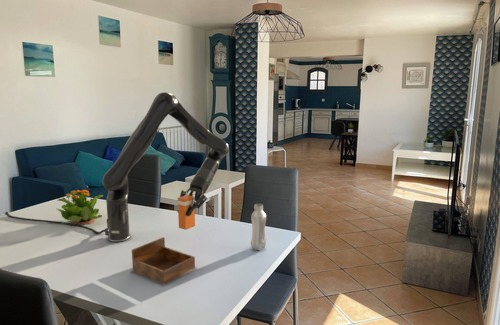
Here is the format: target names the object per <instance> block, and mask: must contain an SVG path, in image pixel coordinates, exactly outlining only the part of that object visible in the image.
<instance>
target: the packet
mask: <svg viewBox="0 0 500 325" xmlns="http://www.w3.org/2000/svg"><path fill="white" fill-rule="evenodd" d="M193 197H194V196H190V195H186V196H182V197H180V196H179V197H177V211H178V212H177V213H178V214H177V215H178V229H182V230H185V231H186V230H190V229H191V228H194V227H196V213H195V212H196V208H195V209H194V210H193V212H192V214H191V215H190V216H187V215H186V214H185V213H186V211H187V210H188V208H189V206H190V205H191V202H192V199H193Z"/></svg>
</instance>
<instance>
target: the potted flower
mask: <svg viewBox="0 0 500 325" xmlns="http://www.w3.org/2000/svg"><path fill="white" fill-rule="evenodd" d="M65 196H66V197H61V198H58V199H57V201H58V202H63V203H65V204H62V205H61V206H60V207H61V209H60V208H58V207H56V210H57V211H58V212H60V214H61V217H62V218H63V219H64V220H66V221H70V222H73V224H78V225H82V226H84V225H87V224H88V225H89V224H91V223H93V222H94V221H95V219H99V218H102V217H103V214H99V211H100V208H96V207H95V206H96V204H97V203H98V199H99V198H102V197H104V195H103V194H99V195H95V196H94V197H93V198H92V197H91V198H90V191H89V190H87V189H82V190H79V189H76V190H71V191H70V193H66V194H65ZM70 198H71V199H70ZM88 198H90V199H88Z"/></svg>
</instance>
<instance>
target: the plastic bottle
mask: <svg viewBox="0 0 500 325" xmlns="http://www.w3.org/2000/svg"><path fill="white" fill-rule="evenodd" d="M253 209H254V211H252V213H251V216H250V219H251V229H252V231H251V232H252V233H251V239H250V247H251V248H252V250H255V251H261V250H264V249H266V246H267V240H266V222H267V214H266V212H265V211H264V204H262V203H255V204H254V206H253Z"/></svg>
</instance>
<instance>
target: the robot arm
mask: <svg viewBox="0 0 500 325" xmlns="http://www.w3.org/2000/svg"><path fill="white" fill-rule="evenodd" d="M168 116H170V117H171V118H173V119H174V120H175V121H176V122H178V123H179V124H180V125H181V126H182V127H183V128H184V130H185V131H186V132H187V133H188V134H189V136H191V137H192V138H193V139H194V140H195V141H196V142H198V143H199V144H200V145H201V146H207V147H209V148H210V149H209V150H208V153H207V154H206V157H205V159H204V161H203V162H202V164H201V166H200V168H199V169H198V170H197V171H196V173H195V175H194V176H193V178H192V180H191V182H190V184H189V188H188V189H186V190H183V189H182V190H181V191H180V195H179V197H182V196H186V195H190V196H194V197H193V199H192V202H191V205H190V206H189V208H188V210H187V211H186V213H185V214H186V215H187V216H190V215H191V214H192V212H193V210H194V209H195V210H196V209H200V208H201V207H202V205H203V204H204V203H205V202H207V200H208V197H207V196H206V195H205V194H206V193H207V190H208V189H209V187H210V186H211V184H212V182H213V180H214V177H215V175H216V173H217V171H218V170H219V166H220V163H221V162H222V160H223V159H224V158H225V157H226V156H227V154H228V153H229V152H230V147H229V144H228V143H227V142H226V141H225V140H224V139H222V138H221V137H219V136H218V135H216V134H214V133H212V132H211V131H210V130H209V129H208V128H207V127H205V125H203V123H201V122H200V121H199V120H197V118H195V117H194V116H193V115H192V114H191V113H190V112H189V111H187V109H185V107H184V106H183V105H182V103H181V102H180V101H179V100H178V99H177V97H176V96H175V94H173V93H171V92H166V91H164V92H163V91H162V92H159V93H158V94H157V95H155V97H154V98H153V101H152V103H151V104H150V106H149V109H148V110H147V113H146V114H145V116H144V117H143V119H142V120H141V121H140V122H139V124H138V125H137V126H136V128H135V129H134V131H133V132H132V133H131V135H130V136H129V138H128V139H127V141H126V143H125V145H124V146H123V147H122V150H121V151H120V153H119V155H118V157H117V158H116V160H115V161H114V162H113V164H112V165H111V166H110V168H109V169H108V170H107V171H106V172H105V173H104V175H103V177H102V185H103V187H104V188H105V190H107V196H106V198H105V199H106V200H105V202H106V203H105V204H106V216H107V218H106V228H104V229H102V230H100V231H97V230H95V229H94V228H91V227H88V226H85V225H78V224H75V223H74V222H73V223H72V222H66V221H58V220H48V219H36V218H35V219H34V218H24V217H20V216H14V215H10V214H9V212H8V211H5V212H4V215H6V217H7V218H10V219H15V220H22V221H30V222H40V223H49V224H50V223H51V224H61V225H68V226H73V227H78V228H81V229H86V230H89V231H91V232H93V233H94V234H96V235H100V234H103V233H104V235H105V236H106V237H107V239H108V241H109V242H113V243H120V242H126V241H128V240H129V239H130V238H131V234H130V219H129V218H130V216H129V203H128V202H129V200H128V197H129V177H128V174H129V173H130V171H131V170H132V168H133V167H134V166H135V165H137V163H138V162H139V161H140V160H141V158H143V156H144V155H145V154H146V153H147V151H148V150H149V148H150V147H151V145H152V144H153V142H154V140H155V137H156V135H157V132H158V130H159V128H160V126H161V125H162V123H163V122H164V120H165V119H166V118H167V117H168ZM176 211H177V213H178V210H176Z"/></svg>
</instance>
